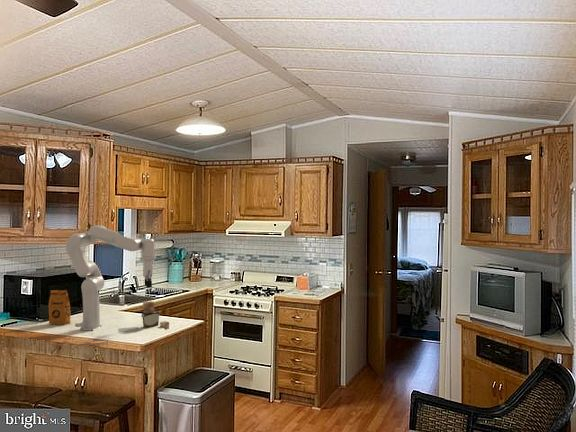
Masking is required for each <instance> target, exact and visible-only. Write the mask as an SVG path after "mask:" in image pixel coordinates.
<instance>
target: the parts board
mask: <svg viewBox="0 0 576 432" xmlns="http://www.w3.org/2000/svg"><path fill="white" fill-rule="evenodd" d="M117 330H118V333H127V332H137V331H141V330H140V327H139V326H131V327H120V328H117Z"/></svg>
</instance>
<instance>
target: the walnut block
mask: <svg viewBox="0 0 576 432" xmlns="http://www.w3.org/2000/svg"><path fill="white" fill-rule="evenodd" d="M142 310H143V311H142V313H143V312H144V313H154V311H155V302H154V300H153V301H143V302H142Z"/></svg>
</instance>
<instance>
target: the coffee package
mask: <svg viewBox="0 0 576 432" xmlns="http://www.w3.org/2000/svg"><path fill="white" fill-rule="evenodd" d="M49 293H50V296H49V300H48V324H49V325H54V324H55V326H57V325H59V326H63V325H65V326H66V325H69V324H71V303H70V298H69V294H68V293H69V292H68V290H67V289H65V290H58V289H56V290H50V292H49ZM56 324H57V325H56Z"/></svg>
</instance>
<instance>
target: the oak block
mask: <svg viewBox="0 0 576 432" xmlns="http://www.w3.org/2000/svg"><path fill="white" fill-rule="evenodd" d="M159 324H160V325H159V326H160V327H161V328H164V330H168V329H170V321H168V320H165V321H159Z"/></svg>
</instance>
